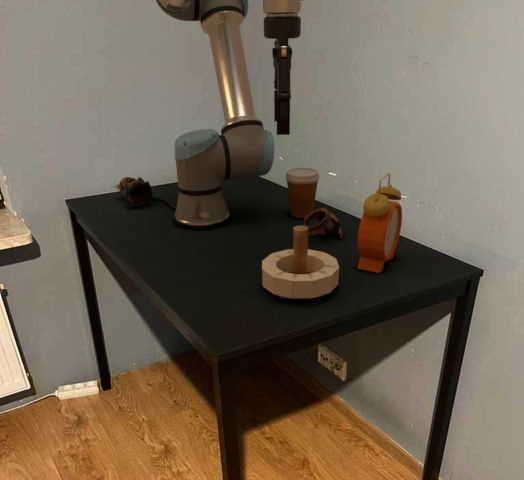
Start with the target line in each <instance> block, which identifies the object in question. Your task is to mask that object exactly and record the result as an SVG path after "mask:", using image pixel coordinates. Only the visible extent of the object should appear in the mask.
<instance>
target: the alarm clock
mask: <svg viewBox="0 0 524 480" xmlns="http://www.w3.org/2000/svg"><path fill="white" fill-rule="evenodd" d="M387 177H388V181H387V182H388V183H387V186H382V185H381V184H382V181H383V180H385V178H387ZM390 183H391V173H386V175H385V176H383V177H382V178H380V180H379V183H378V189H377V190H376V192H375V193H373V194H370V195H369V196H368V197H366V199H365V200H364V202H363V206H362V208H363V209H362V210H363V213H362V216H361V218H360V223H359V226H358V233H357V252H358V256H359V260H358V265H357V269H359V270H363V271H368V272H373V273H377V274H381V272H382V271H383V270H384V267H385V263H386V262H387V261H392V260H393V259H394V257H395V255H394V252H395V250H396V248H397V244H398V242H399V239H400V235H401V231H402V229H401V228H402V225H403V224H402V223H403V210H402V205H401V203H399V202H397V201H400V200H402V193H401V191H400V190H399V189H397V188H395V187H393V185H392V184H390Z"/></svg>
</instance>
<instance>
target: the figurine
mask: <svg viewBox="0 0 524 480" xmlns="http://www.w3.org/2000/svg"><path fill="white" fill-rule="evenodd" d="M118 184H119V185H118ZM118 184H117V188H118V190H119V193H120V197H121V198H122V199H123V198H124V200H125V202H126V203H127V204H128V206H129V207H130V208H131V209H135V208H136V207H142V206H148V205H150V204H152V202H151V200H152V199H151V198H152V197H153V190H152V186H151V184H150V182H149V181H148V180H147V181H145V180H144V179H143V178H142V177H141V176H138V178H135V177H131V176H126V177H123V178H122V179H121V180H120V181H119V182H118Z"/></svg>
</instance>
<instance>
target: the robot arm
mask: <svg viewBox="0 0 524 480" xmlns="http://www.w3.org/2000/svg"><path fill="white" fill-rule="evenodd" d="M303 1H304V0H262V12H263V13H264V14H265V16H264V18H263V37H264V38H265V39H268V40H269V39H270V40H274V42H273V45H274V47H272V49H271V50H272V51H271V52H272V53H271V54H272V55H271V56H272V65H273V69H274V78H273V79H274V80H273V84H274V85H273V88H274V90H273V91H274V92H273V104H274V107H273V109H274V110H273V111H274V113H273V121H274V122H276V136H290V134H291V98H292V94H291V70H292V59H293V48H292V47H291V45H289V39H298V38H300V36H301V35H302V34H301V33H302V18H301V16H299V15H298V14H301V12H302V3H301V2H303ZM155 2H156V4H157V6H158V7H159V8H160V10H161V11H163V12H164V13H165V14H166V15H167V16H169V17H171V18H173V19H176V20H179V21H183V22H199V23H200V27H201V30H202V32H203V33H204V34H206V35H207V36H208V39H209V44H210V50H211V55H212V60H213V65H214V71H215V77H216V81H217V82H216V83H217V87H218V92H219V98H220V103H221V109H222V114H223V120H224V124H223V125H222V127H221V128H220V134H219V132H218V130H216V129H213V128H207V129H204V128H203V129H196V130H191V131H188V132H185V133H182V134H180V135H179V136H177V138H176V139H175V141H174V160H175V166H176V178H177V186H178V197H177V202H176V205H174V204H173V203H172V202H170V200H168V199H166V198H163V197H160V196H159V197H158V196H152V198H151V199H150V200H157V201H161V202H164V203H166V204H167V205H168V206H170V208H172V209H174V210H175V212H174V222H175V224H176V225H177V226H179V227H182V228H185V229H190V230H207V229H214V228H218V227H220V226H223V225H225V224H227V223H228V222H229V221H230V211H229V208H228V206H227V203H226V200H225V198H224V194H223V192H222V182H223V181H233V180H239V179H247V178H249V179H250V178H252V179H255V178H257V177H262V176H266V175H268V174H269V172H270V171H271V170H272V167H273V164H274V159H275V139H274V135H273V134H272V132H271V130H268V129H265V128H264V123H263V120H261V119H259V118H258V117H257V116H256V110H255V105H254V99H253V93H252V88H251V82H250V76H249V72H248V66H247V60H246V55H245V50H244V49H245V48H244V44H243V38H242V32H241V28H242V27H243V25H244V23H245V19H246V18H247V15H248V12H249V1H248V0H155ZM118 185H119V183H118V184H117V186H118Z"/></svg>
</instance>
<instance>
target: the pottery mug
mask: <svg viewBox="0 0 524 480" xmlns="http://www.w3.org/2000/svg"><path fill="white" fill-rule="evenodd" d="M313 218H316V219H317V220H318V222H317V223H316V224H314V225H308V223H309V222H310V221H311V220H313ZM302 226H306V227H308V237H313V236H317V235H326V233H325V229H328V228H330V229H331V233H337V234H338V236H339V239H340V240H342V239H343V230H342V226H341V223H340V221H339V218H338V217H336V215H335V214H333V213H332V212H330V210H329V209H328V207H322V208H317V209H315V210H313V212H311V213H310V214H308V215H307V216H306V217H305V218H303V224H302Z"/></svg>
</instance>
